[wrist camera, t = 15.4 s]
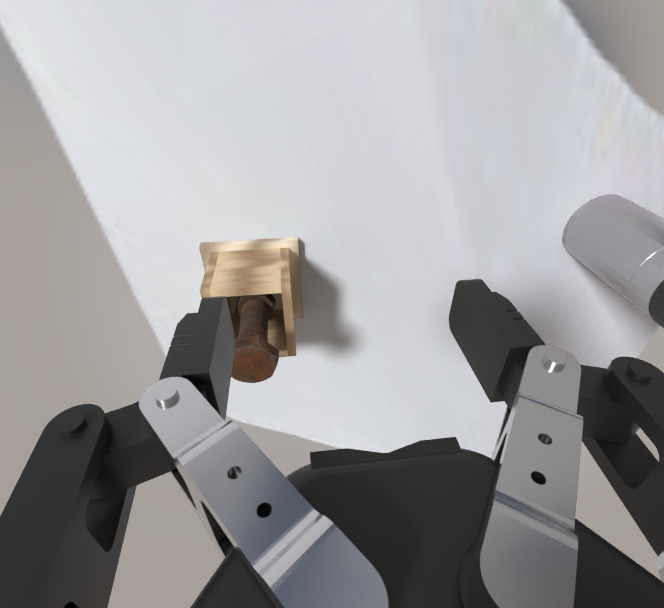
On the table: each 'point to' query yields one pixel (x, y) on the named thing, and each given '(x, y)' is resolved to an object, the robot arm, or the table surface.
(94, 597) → the robot arm
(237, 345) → the bolt
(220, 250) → the socket block
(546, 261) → the table surface
